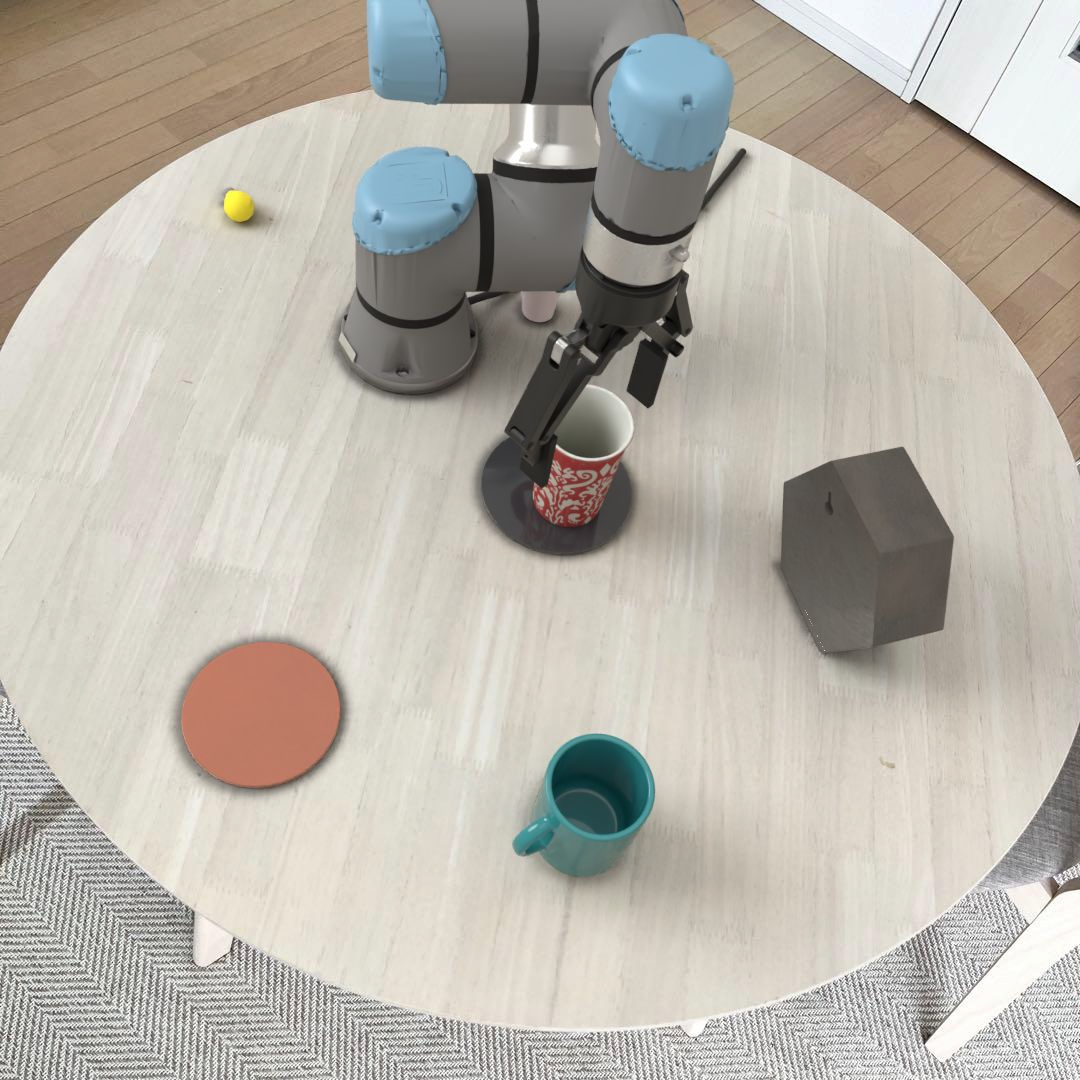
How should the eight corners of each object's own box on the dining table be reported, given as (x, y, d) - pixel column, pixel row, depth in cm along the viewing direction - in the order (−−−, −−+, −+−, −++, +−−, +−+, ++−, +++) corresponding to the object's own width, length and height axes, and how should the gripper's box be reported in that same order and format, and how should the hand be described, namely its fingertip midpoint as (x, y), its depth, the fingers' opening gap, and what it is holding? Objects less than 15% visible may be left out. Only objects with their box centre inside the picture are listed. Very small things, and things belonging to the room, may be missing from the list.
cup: (481, 823, 100) (492, 780, 90) (595, 761, 104) (616, 714, 95) (533, 915, 96) (550, 880, 87) (649, 847, 100) (677, 807, 91)
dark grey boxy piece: (938, 678, 107) (961, 479, 98) (867, 697, 106) (884, 495, 96) (842, 598, 122) (854, 417, 113) (778, 613, 120) (785, 430, 111)
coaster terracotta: (281, 617, 108) (281, 614, 108) (371, 724, 103) (371, 722, 103) (151, 702, 102) (150, 699, 102) (240, 820, 97) (239, 818, 97)
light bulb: (238, 232, 133) (223, 207, 130) (223, 210, 137) (208, 186, 134) (263, 217, 133) (248, 192, 131) (247, 196, 137) (233, 172, 134)
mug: (627, 514, 118) (653, 437, 107) (554, 549, 115) (573, 473, 104) (562, 427, 123) (581, 345, 112) (491, 458, 120) (502, 377, 108)
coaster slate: (561, 405, 125) (562, 403, 125) (661, 502, 120) (662, 499, 120) (449, 477, 119) (449, 474, 118) (550, 582, 113) (551, 580, 113)
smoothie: (573, 304, 133) (590, 207, 122) (551, 337, 130) (567, 240, 118) (524, 285, 134) (537, 187, 123) (501, 317, 131) (512, 219, 120)
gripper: (548, 368, 75) (516, 541, 92) (778, 211, 86) (710, 392, 104) (471, 303, 77) (454, 484, 95) (704, 158, 88) (650, 344, 106)
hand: (588, 436), depth 99 cm, fingers open, 13 cm apart
